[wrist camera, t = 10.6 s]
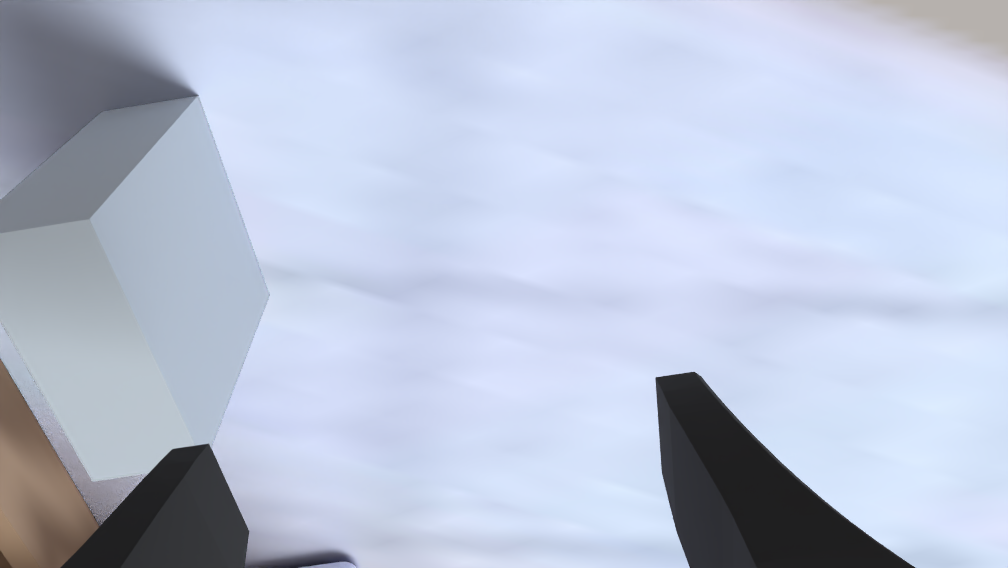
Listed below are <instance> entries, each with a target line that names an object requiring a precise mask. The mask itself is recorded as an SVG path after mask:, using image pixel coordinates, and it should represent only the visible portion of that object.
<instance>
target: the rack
mask: <svg viewBox="0 0 1008 568" xmlns="http://www.w3.org/2000/svg"><path fill="white" fill-rule="evenodd" d="M98 528H99V525H98V523H97V522H96V520H95V518H94V517H93V515H92V513H91V511H90V510H89V508H88V506H87V505H86V503H85V501H84V500H83V498H82V496H81V495H80V493H79V491H78V489H77V488H76V486H75V484H74V483H73V481H72V479H71V478H70V476H69V474H68V473H67V471H66V469H65V468H64V466H63V464H62V462H61V461H60V459H59V457H58V456H57V454H56V452H55V451H54V449H53V447H52V446H51V444H50V442H49V441H48V439H47V437H46V435H45V434H44V432H43V430H42V429H41V427H40V425H39V424H38V422H37V420H36V419H35V417H34V415H33V413H32V412H31V410H30V408H29V407H28V405H27V403H26V402H25V400H24V398H23V397H22V395H21V393H20V392H19V390H18V388H17V386H16V385H15V383H14V381H13V380H12V378H11V376H10V375H9V373H8V371H7V370H6V368H5V366H4V365H3V363H2V361H1V359H0V568H60V567H61V566H62V565H63V564H64V563H65V562H66V561H67V560H68V559H69V558H70V557H71V556H72V555H73V554H74V553H75V552H76V551H77V550H78V549H79V548H80V547H81V546H82V545H83V544H84V543H85V542H86V541H87V540H88V539H89V538H90V536H91V535H92V534H93V533H94V532H95V531H96V530H97V529H98Z"/></svg>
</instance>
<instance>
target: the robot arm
mask: <svg viewBox="0 0 1008 568" xmlns="http://www.w3.org/2000/svg"><path fill="white" fill-rule="evenodd" d="M656 392H657V407H658V421H659V436H660V451H661V466H662V475H663V479H664V483H665V487H666V491H667V495H668V499H669V503H670V507H671V511H672V515H673V519H674V523H675V527H676V531H677V534H678V536H679V539H680V542H681V545H682V547H683V550H684V553H685V556H686V558H687V561H688V564H689V566H690V568H915V567H914V566H912V565H910V564H909V563H907V562H906V561H905V560H903V559H902V558H900V557H899V556H897V555H896V554H894V553H893V552H892V551H890V550H889V549H887V548H886V547H884V546H883V545H881V544H880V543H879V542H877V541H876V540H874V539H873V538H872V537H870V536H869V535H868V534H866V533H865V532H864V531H862V530H861V529H860V528H858V527H857V526H856V525H854V524H853V523H852V522H850V521H849V520H848V519H846V518H845V517H844V516H843V515H841V514H840V513H839V512H838V511H836V510H835V509H834V508H833V507H831V506H830V505H829V504H828V503H827V502H825V501H824V500H823V499H822V498H821V497H819V496H818V495H817V494H816V493H815V492H814V491H812V490H811V489H810V488H809V487H808V486H807V485H806V484H804V483H803V482H802V481H801V480H800V479H799V478H798V477H796V476H795V475H794V474H793V473H792V472H791V471H790V470H789V469H788V468H787V467H786V466H784V465H783V464H782V463H781V462H780V461H779V460H778V459H777V458H776V457H775V456H774V455H773V454H772V453H771V452H770V451H769V450H768V449H767V448H766V447H765V446H764V445H763V444H762V443H761V442H760V441H759V440H758V439H757V438H756V437H755V436H754V435H753V434H752V433H751V432H750V431H749V430H748V429H747V428H746V427H745V426H744V425H743V424H742V423H741V422H740V421H739V420H738V419H737V417H736V416H735V415H734V414H733V413H732V412H731V411H730V410H729V409H728V408H727V407H726V405H725V404H724V403H723V402H722V401H721V400H720V399H719V397H718V396H717V395H716V394H715V393H714V392H713V390H712V389H711V388H710V387H709V386H708V384H707V383H706V382H705V381H704V379H703V378H702V377H701V376H700V375H698V374H697V373H695V372H690V373H683V374H676V375H669V376H663V377H656ZM248 536H249V530H248V528H247V526H246V524H245V521H244V519H243V517H242V515H241V513H240V511H239V508H238V506H237V504H236V502H235V500H234V497H233V495H232V493H231V491H230V489H229V486H228V484H227V482H226V480H225V478H224V475H223V473H222V471H221V469H220V467H219V464H218V462H217V460H216V458H215V456H214V453H213V451H212V449H211V447H210V445H209V444H202V445H196V446H189V447H182V448H175V449H172V450H171V451H170V452H169V453H168V454H167V455H166V456H165V457H164V458H163V459H162V460H161V461H160V462H159V463H158V464H157V465H156V466H155V467H154V468H153V469H152V470H151V471H150V472H149V473H148V475H147V476H146V477H145V478H144V479H143V480H142V481H141V482H140V483H139V484H138V485H137V487H136V488H135V489H134V490H133V491H132V492H131V493H130V494H129V495H128V496H127V498H126V499H125V500H124V501H123V502H122V503H121V504H120V505H119V506H118V507H117V508H116V510H115V511H114V512H113V513H112V514H111V515H110V516H109V517H108V518H107V519H106V520H105V521H104V522H103V524H102V525H101V526H100V527H99V528H98V529H97V530H96V531H95V532H94V533H93V534H92V535H91V536H90V538H89V539H88V540H87V541H86V542H85V543H84V544H83V545H82V546H81V547H80V548H79V549H78V550H77V551H76V552H75V553H74V554H73V555H72V556H71V557H70V558H69V559H68V560H67V561H66V562H65V563H64V564H63V565H62V566H61V567H60V568H244V566H245V559H246V551H247V543H248ZM300 568H357V567H356V566H355V565H353V564H352V563H349V562H336V563H328V564H321V565H314V566H307V567H300Z"/></svg>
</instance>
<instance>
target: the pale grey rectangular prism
mask: <svg viewBox="0 0 1008 568" xmlns="http://www.w3.org/2000/svg"><path fill="white" fill-rule="evenodd" d="M269 296H270V294H269V291H268V288H267V286H266V283H265V280H264V277H263V274H262V272H261V269H260V266H259V263H258V260H257V258H256V255H255V252H254V249H253V246H252V244H251V241H250V238H249V235H248V232H247V230H246V227H245V224H244V221H243V218H242V216H241V213H240V210H239V207H238V204H237V202H236V199H235V196H234V193H233V191H232V188H231V185H230V182H229V179H228V177H227V174H226V171H225V168H224V165H223V163H222V160H221V157H220V154H219V151H218V149H217V146H216V143H215V140H214V137H213V135H212V132H211V129H210V126H209V123H208V121H207V118H206V115H205V112H204V109H203V107H202V104H201V101H200V98H199V95H198V96H192V97H186V98H179V99H173V100H167V101H161V102H155V103H149V104H143V105H137V106H131V107H125V108H119V109H113V110H107V111H102V112H101V113H100V114H99V115H97V116H96V117H95V118H94V119H93V120H92V121H91V122H89V123H88V124H87V125H86V126H85V127H84V128H83V129H81V130H80V131H79V132H78V133H77V134H76V135H75V136H73V137H72V138H71V139H70V140H69V141H68V142H66V143H65V144H64V145H63V146H62V147H61V148H60V149H58V150H57V151H56V152H55V153H54V154H53V155H52V156H50V157H49V158H48V159H47V160H46V161H45V162H44V163H42V164H41V165H40V166H39V167H38V168H37V169H36V170H34V171H33V172H32V173H31V174H30V175H29V176H28V177H26V178H25V179H24V180H23V181H22V182H21V183H20V184H18V185H17V186H16V187H15V188H14V189H13V190H12V191H10V192H9V193H8V194H7V195H6V196H5V197H4V198H2V199H1V200H0V322H1V324H2V325H3V327H4V329H5V331H6V332H7V334H8V336H9V338H10V339H11V341H12V343H13V345H14V346H15V348H16V350H17V351H18V353H19V355H20V357H21V358H22V360H23V362H24V364H25V365H26V367H27V369H28V371H29V372H30V374H31V376H32V378H33V379H34V381H35V383H36V385H37V386H38V388H39V390H40V391H41V393H42V395H43V397H44V398H45V400H46V402H47V404H48V405H49V407H50V409H51V411H52V412H53V414H54V416H55V418H56V419H57V421H58V423H59V424H60V426H61V428H62V430H63V431H64V433H65V435H66V437H67V438H68V440H69V442H70V444H71V445H72V447H73V449H74V451H75V452H76V454H77V456H78V458H79V459H80V461H81V463H82V464H83V466H84V468H85V470H86V471H87V473H88V475H89V477H90V478H91V480H92V482H95V481H102V480H108V479H115V478H122V477H129V476H135V475H142V474H148V473H149V472H150V471H151V470H152V469H153V468H154V467H155V466H156V465H157V464H158V463H159V462H160V461H161V460H162V459H163V458H164V457H165V456H166V455H167V454H168V453H169V452H170V451H171V450H172V449H175V448H182V447H189V446H196V445H202V444H209V445H210V447H212V445H213V442H214V440H215V437H216V434H217V432H218V429H219V427H220V424H221V421H222V419H223V416H224V413H225V411H226V408H227V406H228V403H229V400H230V398H231V395H232V393H233V390H234V387H235V385H236V382H237V379H238V377H239V374H240V372H241V369H242V366H243V364H244V361H245V359H246V356H247V353H248V351H249V348H250V345H251V343H252V340H253V338H254V335H255V332H256V330H257V327H258V325H259V322H260V319H261V317H262V314H263V312H264V309H265V306H266V304H267V301H268V298H269Z"/></svg>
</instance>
